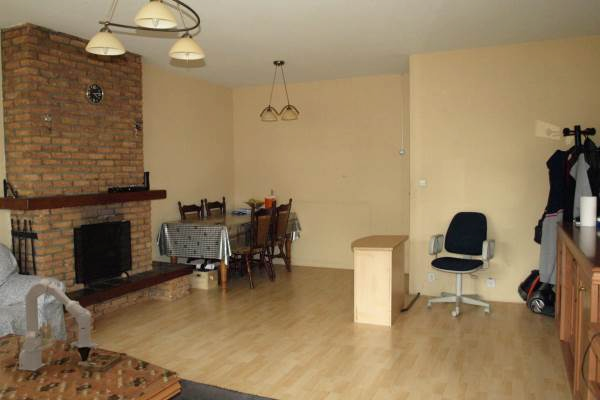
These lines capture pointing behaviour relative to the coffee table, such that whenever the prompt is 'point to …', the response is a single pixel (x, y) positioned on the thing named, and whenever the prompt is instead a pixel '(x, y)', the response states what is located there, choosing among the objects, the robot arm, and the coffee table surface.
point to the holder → (104, 368)
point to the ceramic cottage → (43, 337)
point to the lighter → (86, 363)
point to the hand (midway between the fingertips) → (84, 361)
